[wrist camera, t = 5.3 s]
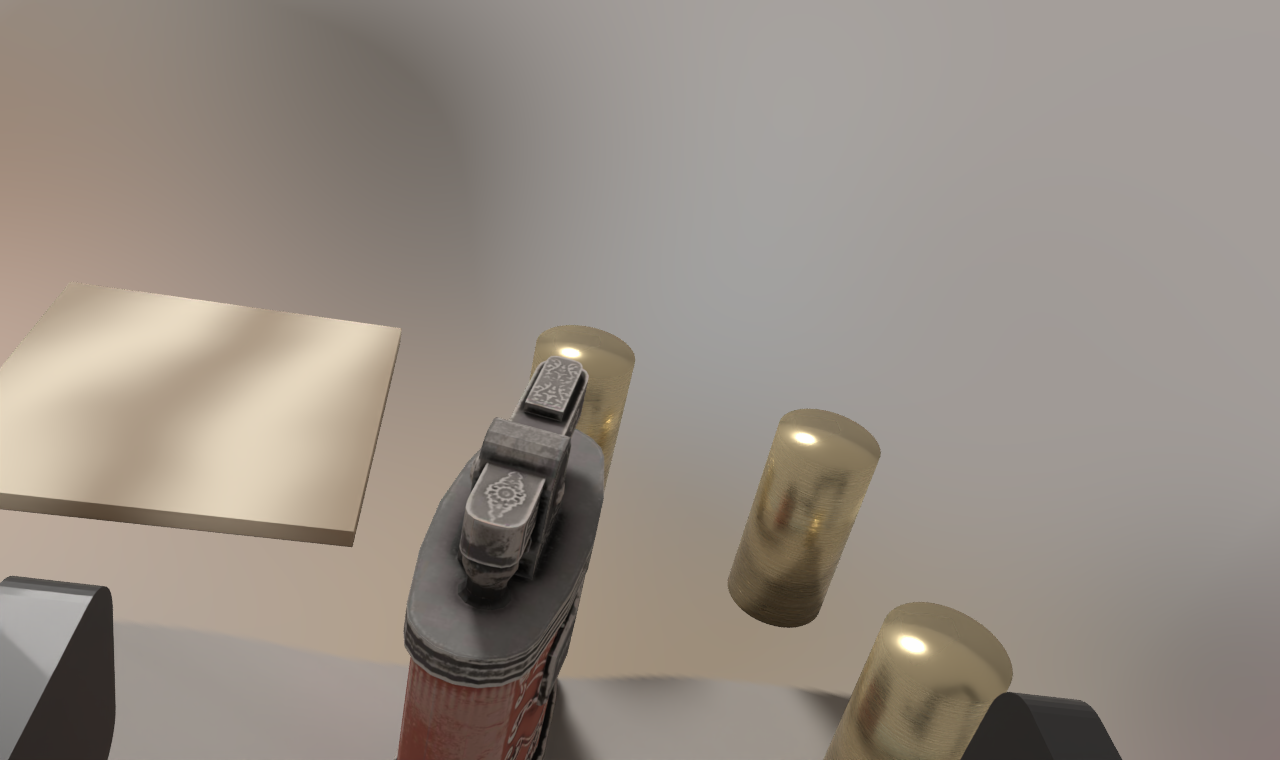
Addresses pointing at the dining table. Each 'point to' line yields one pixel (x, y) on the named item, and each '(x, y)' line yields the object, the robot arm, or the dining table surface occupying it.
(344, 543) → the pad
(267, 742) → the dining table surface
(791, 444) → the spacer posts
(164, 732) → the dining table surface
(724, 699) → the dining table surface
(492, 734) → the lighter
